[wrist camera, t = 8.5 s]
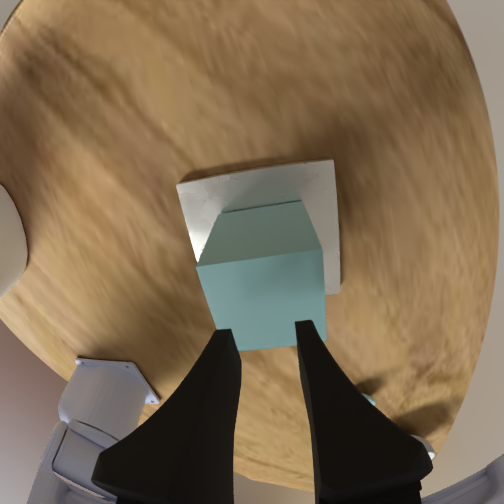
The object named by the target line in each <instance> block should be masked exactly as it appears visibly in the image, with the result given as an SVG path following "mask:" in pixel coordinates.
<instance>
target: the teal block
mask: <svg viewBox="0 0 504 504" xmlns="http://www.w3.org/2000/svg"><path fill="white" fill-rule="evenodd" d="M196 270H197V273H198V276H199V279H200V282H201V285H202V288H203V291H204V294H205V297H206V300H207V303H208V306H209V309H210V312H211V315H212V317H213V320H214V323H215V326H216V329H217V330H218V329H232V333H233V336H234V339H235V343H236V346H237V349H238V351H248V350H258V349H268V348H277V347H285V346H293V345H297V340H296V330H295V321H303V320H312V321H313V322H314V325H315V327H316V329H317V332H318V334H319V335H320V337H321V339H322V341H327V340H326V302H325V281H324V264H323V249H322V246H321V244H320V241H319V239H318V237H317V234H316V232H315V229H314V227H313V224H312V222H311V220H310V217H309V215H308V213H307V210H306V208H305V206H304V203H303V201H300V202H293V203H286V204H279V205H273V206H266V207H260V208H254V209H247V210H241V211H235V212H229V213H224V214H218V216H217V218H216V220H215V223H214V225H213V227H212V230H211V232H210V234H209V237H208V239H207V241H206V244H205V246H204V248H203V251H202V253H201V255H200V258H199V260H198V262H197V265H196Z"/></svg>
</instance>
